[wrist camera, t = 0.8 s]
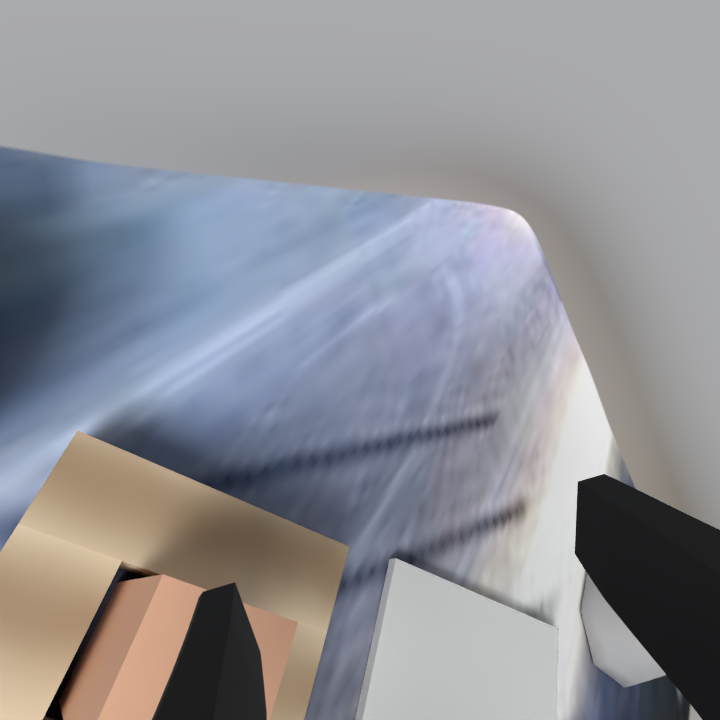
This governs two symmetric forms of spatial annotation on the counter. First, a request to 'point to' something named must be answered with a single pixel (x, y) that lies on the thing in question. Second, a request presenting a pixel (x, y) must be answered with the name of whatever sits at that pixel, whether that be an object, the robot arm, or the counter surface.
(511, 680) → the mat
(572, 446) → the counter surface
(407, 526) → the counter surface
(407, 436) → the counter surface
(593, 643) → the flask
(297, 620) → the pocket block
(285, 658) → the peg
